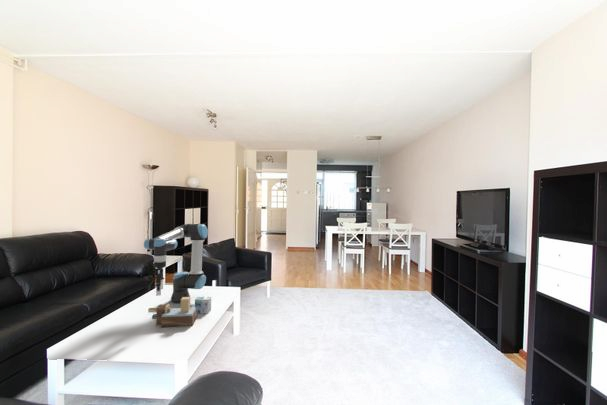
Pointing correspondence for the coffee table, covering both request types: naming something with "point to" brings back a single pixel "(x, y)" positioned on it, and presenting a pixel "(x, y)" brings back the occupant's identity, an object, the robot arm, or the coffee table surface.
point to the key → (156, 309)
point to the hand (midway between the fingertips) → (159, 292)
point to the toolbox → (173, 319)
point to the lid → (180, 309)
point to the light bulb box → (203, 304)
